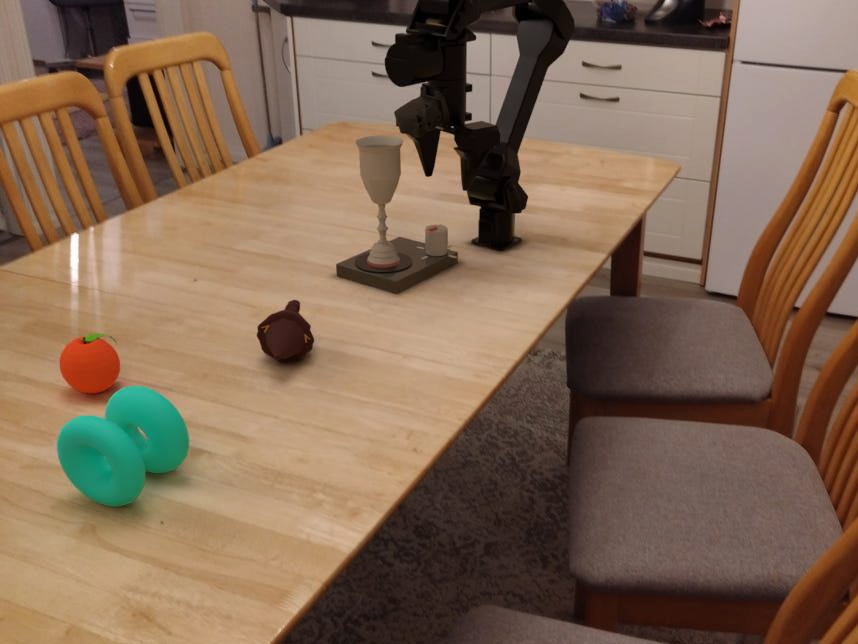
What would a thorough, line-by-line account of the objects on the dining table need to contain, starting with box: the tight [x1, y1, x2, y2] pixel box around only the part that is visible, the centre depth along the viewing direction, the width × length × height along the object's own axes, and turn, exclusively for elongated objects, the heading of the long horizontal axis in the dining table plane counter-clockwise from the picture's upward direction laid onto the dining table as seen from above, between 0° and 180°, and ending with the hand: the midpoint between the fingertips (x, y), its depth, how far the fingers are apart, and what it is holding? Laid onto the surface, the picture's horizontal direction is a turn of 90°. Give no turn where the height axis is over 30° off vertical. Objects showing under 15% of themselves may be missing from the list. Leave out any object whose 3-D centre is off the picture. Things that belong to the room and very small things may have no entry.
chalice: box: [355, 135, 404, 265], centre depth 152 cm, size 7×7×18 cm
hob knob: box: [424, 224, 449, 256], centre depth 159 cm, size 4×4×4 cm
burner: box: [355, 252, 412, 273], centre depth 156 cm, size 9×9×1 cm
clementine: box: [59, 333, 121, 394], centre depth 122 cm, size 8×7×7 cm
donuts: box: [56, 385, 190, 507], centre depth 103 cm, size 10×10×10 cm
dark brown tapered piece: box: [256, 299, 315, 363], centre depth 130 cm, size 7×7×15 cm
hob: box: [335, 236, 459, 295], centre depth 159 cm, size 17×13×2 cm
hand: (447, 183), depth 155 cm, fingers open, 9 cm apart
